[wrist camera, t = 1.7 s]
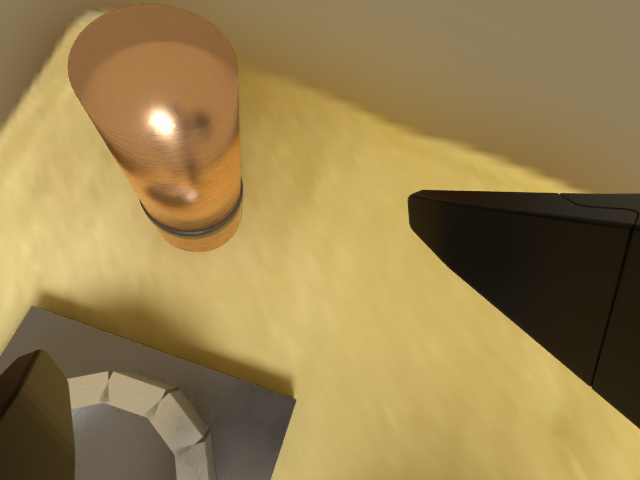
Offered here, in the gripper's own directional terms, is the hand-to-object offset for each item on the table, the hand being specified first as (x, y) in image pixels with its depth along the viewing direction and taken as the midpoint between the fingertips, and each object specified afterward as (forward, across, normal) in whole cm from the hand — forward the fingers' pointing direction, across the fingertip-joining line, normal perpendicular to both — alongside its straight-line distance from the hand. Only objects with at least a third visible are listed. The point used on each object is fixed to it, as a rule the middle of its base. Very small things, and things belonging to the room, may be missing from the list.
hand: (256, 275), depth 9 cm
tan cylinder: (+15, 0, +4) cm, 15 cm away
